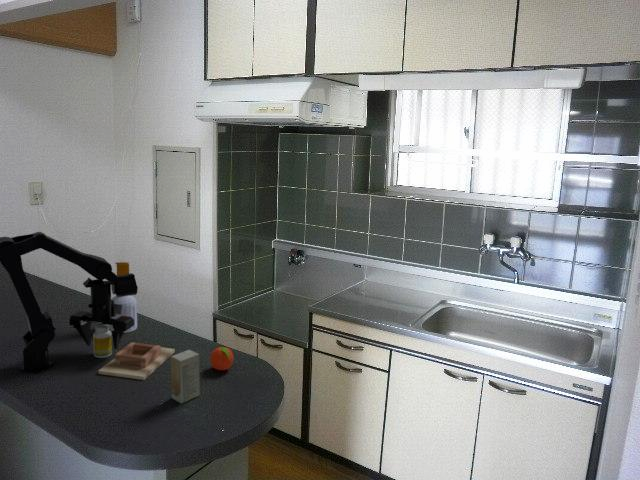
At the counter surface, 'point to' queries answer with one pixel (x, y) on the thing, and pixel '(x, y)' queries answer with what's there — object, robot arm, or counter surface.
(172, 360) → the skincare box
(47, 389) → the counter surface
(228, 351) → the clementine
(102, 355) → the supplement bottle
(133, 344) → the maple holder board
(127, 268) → the soap bottle
